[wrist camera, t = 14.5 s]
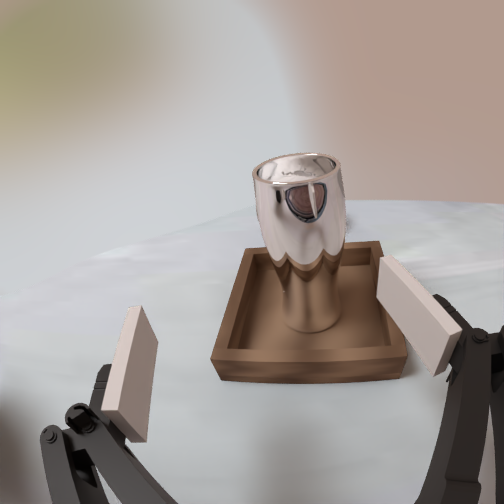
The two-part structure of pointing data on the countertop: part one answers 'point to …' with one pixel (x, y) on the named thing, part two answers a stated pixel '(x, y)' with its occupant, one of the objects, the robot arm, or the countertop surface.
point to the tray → (308, 344)
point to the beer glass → (304, 234)
